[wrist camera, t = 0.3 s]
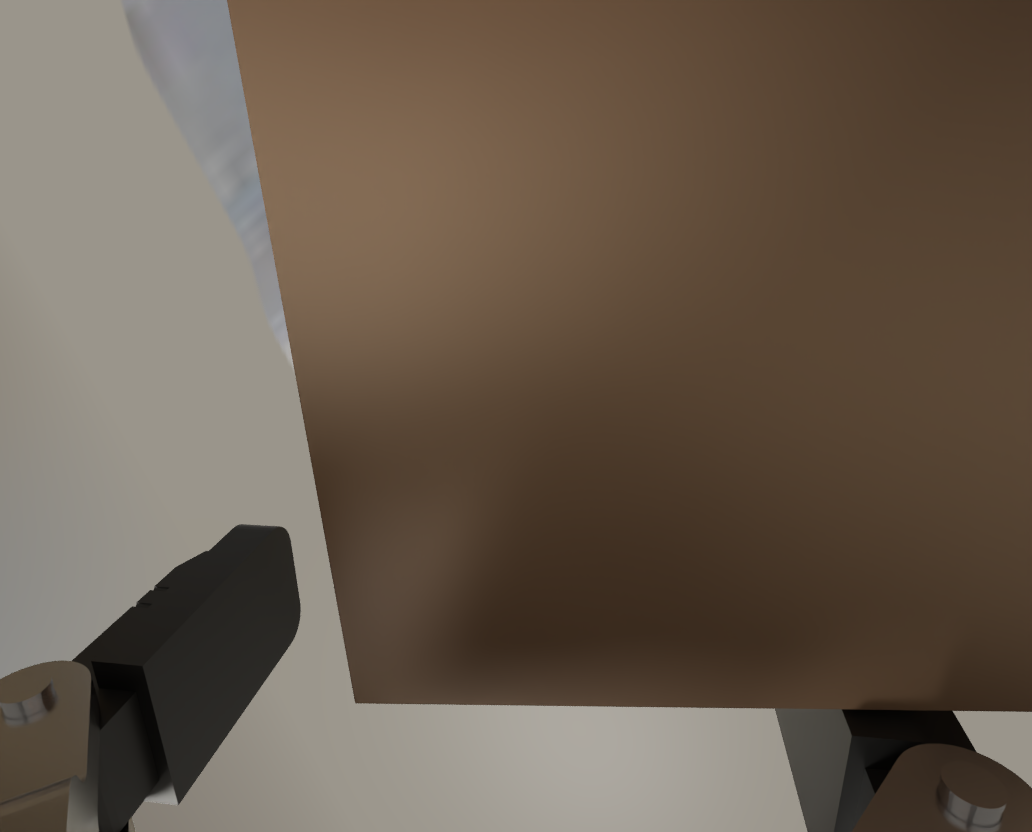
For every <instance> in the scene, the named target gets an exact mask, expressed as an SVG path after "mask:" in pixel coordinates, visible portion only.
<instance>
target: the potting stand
mask: <svg viewBox="0 0 1032 832" xmlns="http://www.w3.org/2000/svg"><path fill="white" fill-rule="evenodd" d="M227 2H228V8H229V13H230V19H231V24H232V30H233V35H234V41H235V46H236V52H237V57H238V63H239V68H240V74H241V79H242V84H243V90H244V95H245V101H246V106H247V112H248V117H249V123H250V128H251V134H252V139H253V145H254V150H255V156H256V161H257V167H258V172H259V178H260V183H261V189H262V194H263V200H264V205H265V211H266V216H267V222H268V227H269V233H270V238H271V244H272V249H273V254H274V260H275V265H276V271H277V276H278V282H279V287H280V293H281V298H282V304H283V309H284V315H285V320H286V326H287V331H288V337H289V342H290V348H291V353H292V359H293V364H294V370H295V375H296V381H297V386H298V392H299V397H300V402H301V408H302V413H303V419H304V424H305V430H306V435H307V441H308V446H309V452H310V457H311V463H312V468H313V474H314V479H315V485H316V490H317V496H318V501H319V507H320V511H321V518H322V523H323V529H324V534H325V539H326V545H327V551H328V556H329V562H330V567H331V573H332V578H333V583H334V589H335V594H336V600H337V605H338V611H339V616H340V622H341V627H342V632H343V638H344V644H345V649H346V655H347V660H348V666H349V671H350V677H351V682H352V688H353V693H354V699H355V703H376V704H380V703H381V704H456V705H458V704H459V705H537V706H539V705H541V706H542V705H543V706H616V707H697V708H777V709H857V710H937V711H1017V712H1018V711H1019V712H1021V711H1023V712H1032V0H227Z"/></svg>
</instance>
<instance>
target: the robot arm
mask: <svg viewBox="0 0 1032 832" xmlns="http://www.w3.org/2000/svg"><path fill="white" fill-rule="evenodd" d="M299 621H300V599H299V592H298V586H297V579H296V573H295V566H294V560H293V553H292V547H291V540H290V537H289V534H288V532H287V531H286V529H285V528H283V527H277V526H260V525H243V524H241V525H237V526H236V527H234V528H233V529H232V530H231V531H230V532H229V533H228V534H227V535H225V536H224V537H223V538H222V539H221V540H220V541H219V542H218V543H217V544H216V545H215V546H214V547H213V548H212V549H211V550H209V551H205V552H203V553H201V554H200V555H198V556H196V557H194V558H192V559H190V560H188V561H186V562H185V563H183V564H181V565H179V566H177V567H175V568H174V569H173V570H172V571H171V572H170V573H169V574H168V575H167V576H165V577H164V578H163V579H162V580H161V581H160V582H159V583H158V584H157V585H155V588H154V590H153V591H152V590H150V591H149V592H148V593H147V594H146V595H144V596H143V597H142V598H141V599H140V600H139V601H138V602H137V605H136V607H131V608H130V609H129V610H128V611H127V612H126V613H124V614H123V615H122V616H121V617H120V618H119V619H118V620H117V621H115V622H114V623H113V624H112V625H111V626H110V627H109V628H108V629H107V630H106V631H104V632H103V633H102V634H101V635H100V636H99V637H98V638H97V639H95V640H94V641H93V642H92V643H91V644H90V645H89V646H88V647H87V648H85V649H84V650H83V651H82V652H81V653H80V654H79V655H78V656H77V657H76V658H74V659H73V660H72V661H52V662H45V663H40V664H37V665H33V666H30V667H27V668H24V669H21V670H18V671H16V672H14V673H11V674H10V675H7V676H5V677H3V678H2V679H0V832H136V831H135V826H134V822H133V819H132V816H133V814H134V813H135V811H136V810H137V809H138V808H139V806H140V805H141V804H142V802H143V801H148V802H156V803H164V804H172V805H179V803H180V802H181V801H182V799H183V798H184V796H185V795H186V793H187V792H188V790H189V789H190V788H191V786H192V785H193V783H194V782H195V781H196V779H197V778H198V776H199V775H200V773H201V772H202V771H203V769H204V768H205V766H206V765H207V763H208V762H209V761H210V759H211V758H212V756H213V755H214V753H215V752H216V750H217V749H218V748H219V746H220V745H221V743H222V742H223V740H224V739H225V738H226V736H227V735H228V733H229V732H230V730H231V729H232V727H233V726H234V725H235V723H236V722H237V720H238V719H239V718H240V716H241V715H242V713H243V712H244V710H245V709H246V707H247V706H248V705H249V703H250V702H251V700H252V699H253V697H254V696H255V695H256V693H257V692H258V690H259V689H260V687H261V686H262V685H263V683H264V681H265V680H266V679H267V677H268V676H269V675H270V673H271V672H272V670H273V668H274V667H275V666H276V664H277V663H278V662H279V660H280V659H281V657H282V656H283V654H284V653H285V652H286V650H287V649H288V647H289V646H290V644H291V643H292V641H293V639H294V637H295V635H296V632H297V629H298V626H299ZM775 711H776V714H777V718H778V722H779V725H780V729H781V733H782V737H783V741H784V745H785V748H786V752H787V756H788V760H789V763H790V767H791V771H792V775H793V778H794V782H795V786H796V790H797V794H798V797H799V801H800V805H801V809H802V812H803V816H804V820H805V824H806V827H807V831H808V832H1032V788H1031V787H1030V786H1029V785H1028V784H1027V783H1026V782H1024V781H1023V780H1022V779H1021V778H1020V777H1018V776H1017V775H1016V774H1015V773H1013V772H1012V771H1010V770H1009V769H1007V768H1006V767H1004V766H1003V765H1001V764H999V763H998V762H996V761H994V760H992V759H990V758H988V757H986V756H983V755H981V754H979V753H977V752H976V750H975V749H974V747H973V745H972V743H971V742H970V740H969V738H968V737H967V735H966V733H965V732H964V730H963V728H962V726H961V725H960V723H959V721H958V720H957V718H956V716H955V715H954V713H953V711H937V710H857V709H777V708H775Z"/></svg>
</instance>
